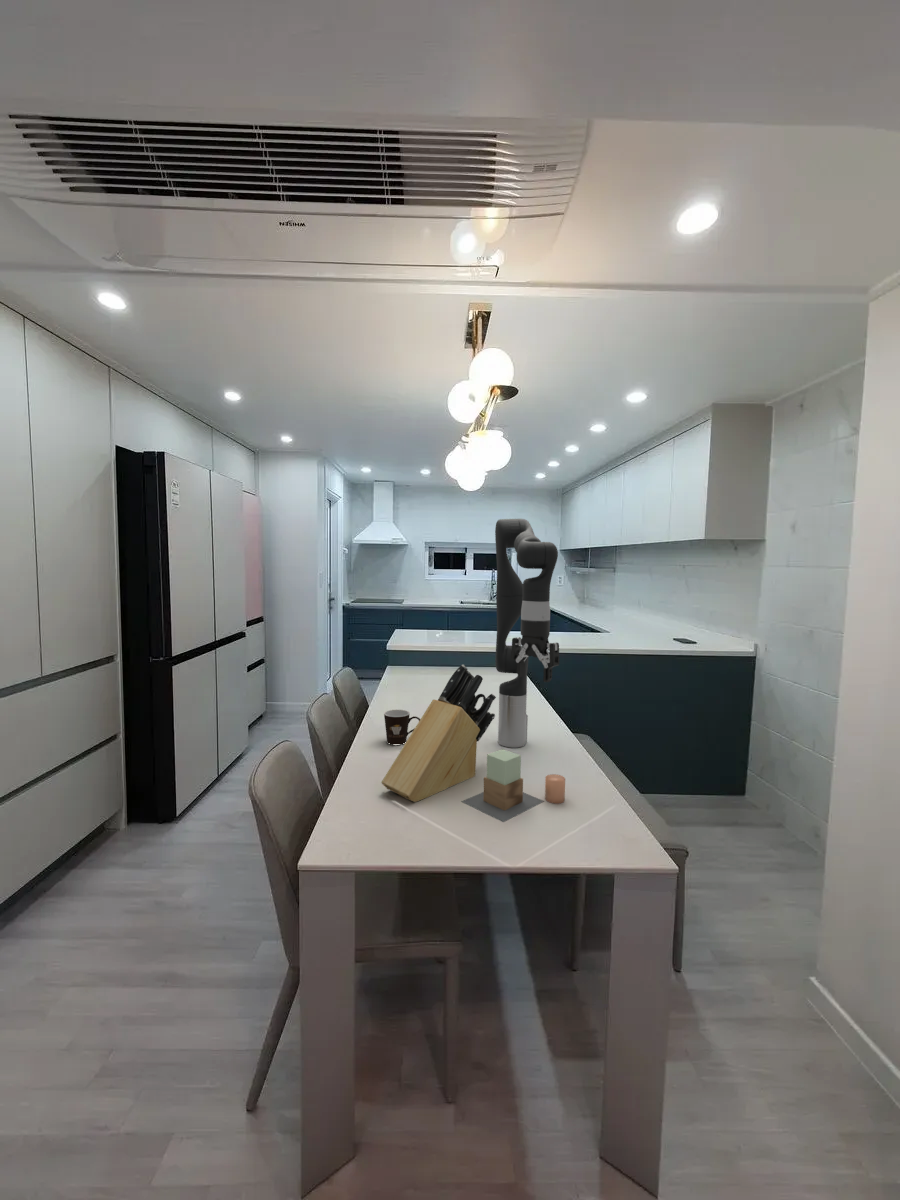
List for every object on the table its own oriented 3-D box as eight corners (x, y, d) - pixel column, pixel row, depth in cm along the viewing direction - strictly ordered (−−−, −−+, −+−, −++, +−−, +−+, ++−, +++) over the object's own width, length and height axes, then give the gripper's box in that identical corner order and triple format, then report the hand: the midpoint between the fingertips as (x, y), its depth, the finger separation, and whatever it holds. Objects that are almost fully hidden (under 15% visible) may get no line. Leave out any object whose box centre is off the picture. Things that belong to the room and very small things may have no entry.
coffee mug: (379, 744, 172) (379, 714, 172) (391, 736, 180) (391, 708, 180) (410, 749, 168) (410, 719, 167) (421, 741, 176) (422, 712, 175)
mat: (502, 785, 142) (502, 783, 142) (544, 803, 132) (544, 801, 131) (461, 803, 131) (461, 801, 131) (503, 824, 121) (503, 822, 120)
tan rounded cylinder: (552, 794, 136) (553, 772, 136) (568, 801, 133) (569, 778, 132) (540, 800, 133) (541, 777, 133) (557, 807, 129) (557, 784, 129)
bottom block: (501, 792, 136) (502, 770, 136) (522, 801, 131) (523, 778, 130) (483, 800, 131) (483, 777, 131) (504, 810, 126) (505, 786, 126)
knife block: (497, 768, 153) (499, 665, 151) (409, 808, 128) (410, 684, 126) (469, 758, 161) (470, 660, 159) (380, 793, 136) (380, 677, 133)
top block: (502, 771, 135) (502, 749, 134) (520, 778, 131) (520, 755, 130) (486, 777, 131) (487, 754, 130) (504, 785, 126) (505, 761, 126)
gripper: (566, 619, 133) (564, 681, 134) (523, 615, 144) (522, 673, 145) (548, 621, 128) (546, 686, 129) (505, 616, 139) (504, 676, 140)
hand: (533, 679), depth 137 cm, fingers open, 8 cm apart
